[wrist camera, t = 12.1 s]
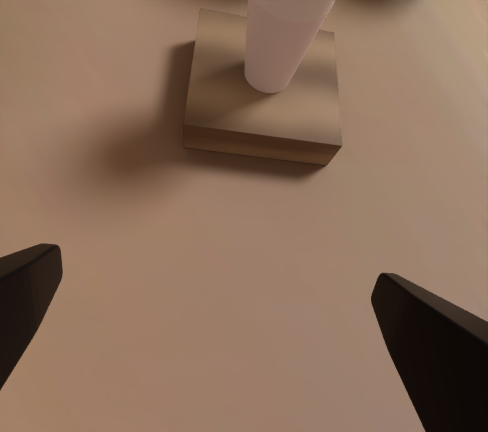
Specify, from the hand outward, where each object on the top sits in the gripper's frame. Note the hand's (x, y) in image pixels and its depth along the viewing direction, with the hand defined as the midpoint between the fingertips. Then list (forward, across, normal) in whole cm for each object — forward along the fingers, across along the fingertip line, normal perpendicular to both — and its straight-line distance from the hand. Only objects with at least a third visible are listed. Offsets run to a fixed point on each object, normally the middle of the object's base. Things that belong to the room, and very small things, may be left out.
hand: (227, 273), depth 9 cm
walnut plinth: (+23, -3, -4) cm, 23 cm away
